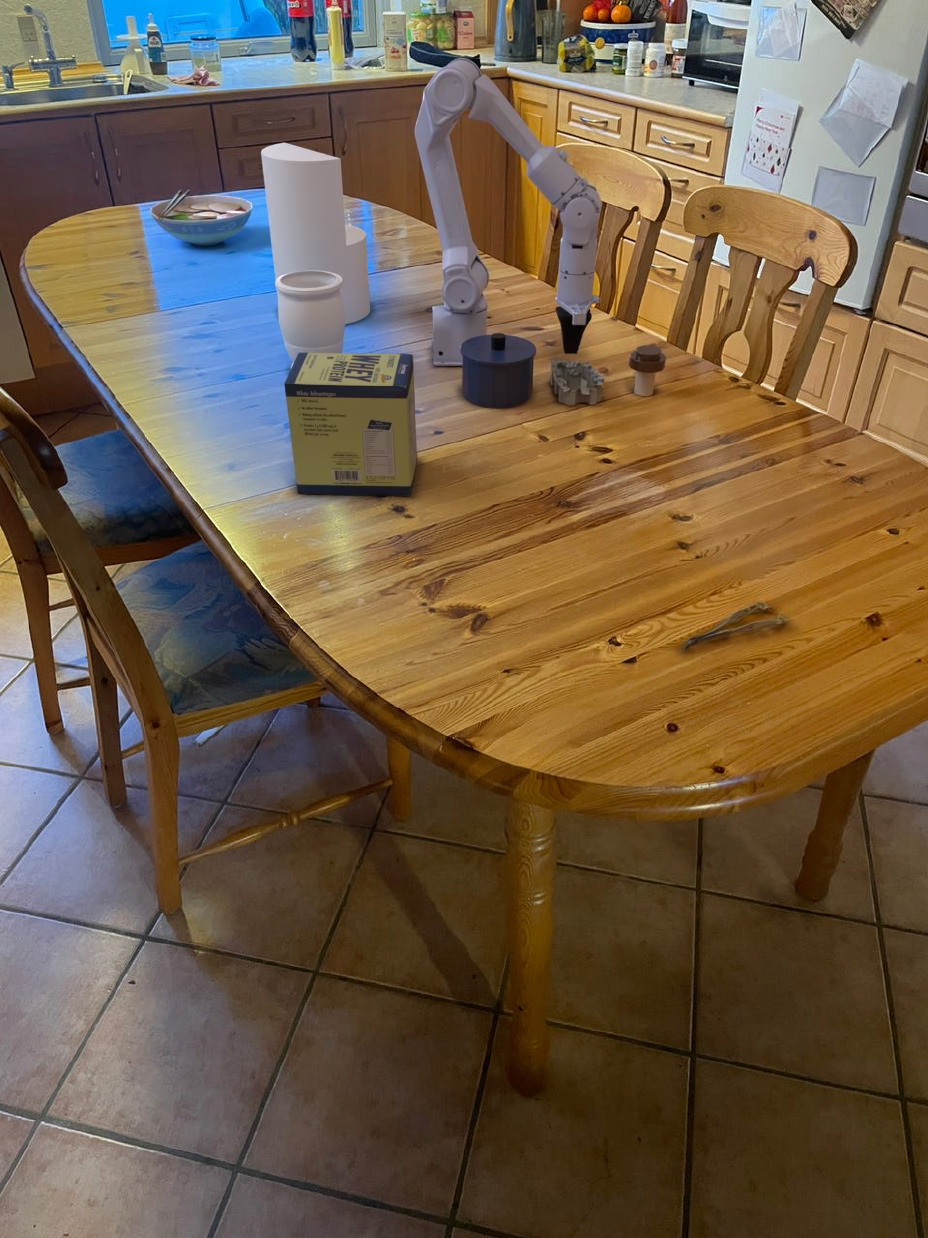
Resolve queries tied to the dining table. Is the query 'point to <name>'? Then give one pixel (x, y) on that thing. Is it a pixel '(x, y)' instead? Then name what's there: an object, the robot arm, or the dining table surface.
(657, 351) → the mushroom
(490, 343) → the pot lid
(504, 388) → the pot
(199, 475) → the dining table surface
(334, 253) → the cylinder
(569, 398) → the egg carton
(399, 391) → the protein box
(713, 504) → the dining table surface
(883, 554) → the dining table surface
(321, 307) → the jar
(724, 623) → the tongs
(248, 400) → the dining table surface
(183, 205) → the ramen bowl
